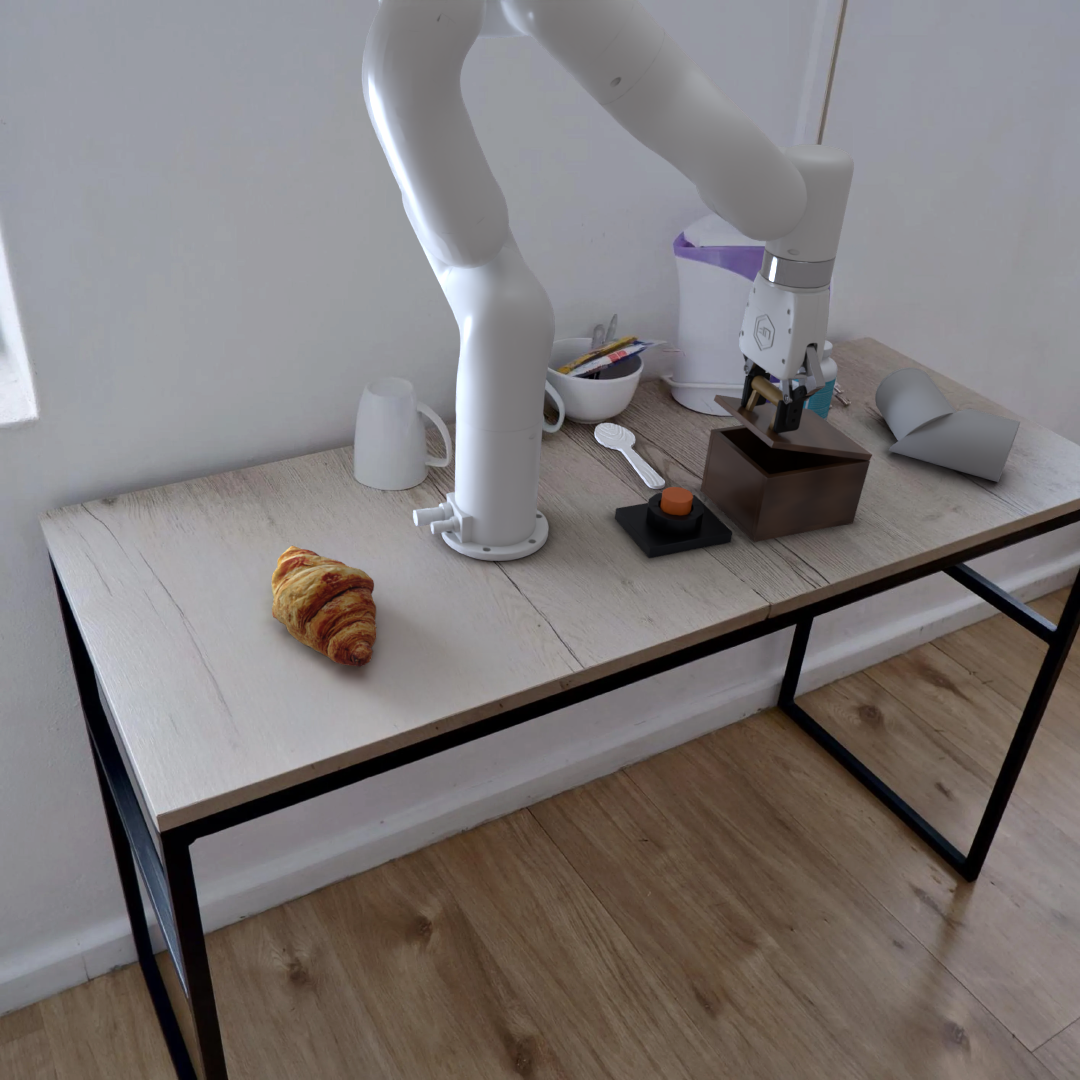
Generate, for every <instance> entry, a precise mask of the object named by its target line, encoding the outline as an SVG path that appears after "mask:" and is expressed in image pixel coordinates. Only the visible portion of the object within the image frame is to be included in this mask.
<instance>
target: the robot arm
mask: <svg viewBox="0 0 1080 1080" xmlns="http://www.w3.org/2000/svg"><path fill="white" fill-rule="evenodd" d="M377 2H378V9H377V11H376V13H375V15H374V17H373V19H372V22H371V24H370V27H369V29H368V31H367V35H366V39H365V43H364V48H363V54H362V61H361V62H362V64H361V87H362V94H363V95H362V96H363V100H364V105H365V107H366V108H365V109H366V111H367V115H368V117H369V121H370V122H371V125H372V128H373V130H374V133H375V136H376V138H377V140H378V142H379V145H380V146H381V149H382V151H383V153H384V156H385V158H386V160H387V163H388V166H389V168H390V171H391V172H392V175H393V177H394V179H395V181H396V183H397V186H398V189H399V191H400V192H401V202H402V205H403V210H404V211H405V214H406V216H407V219H408V221H409V223H410V225H411V227H412V230H413V232H414V233H415V236H416V238H417V239H418V242H419V245H420V246H421V248H422V251H423V252H424V255H425V257H426V258H427V261H428V263H429V265H430V267H431V269H432V271H433V273H434V275H435V277H436V280H437V281H438V283H439V285H440V288H441V289H442V292H443V294H444V296H445V298H446V300H447V303H448V305H449V307H450V309H451V311H452V313H453V316H454V319H455V322H456V324H457V327H458V329H459V356H458V357H459V358H458V366H457V372H456V373H457V374H456V389H455V458H454V459H455V463H454V464H455V465H454V467H455V468H454V491H453V492H448V493H446V502H440V503H439V504H438V506H435V507H425V508H419V509H413V511H412V517H413V522H414V525H415V526H416V527H421V526H422V527H423V526H428V525H429V526H430V527H429V528H430V532H431V534H432V535H435V534H440V535H441V537H442V539H443V541H444V542H445V544H447V545H448V546H449V547H450V548H451V549H452V550H454V551H456V552H458V553H460V554H462V555H463V556H467V557H470V558H473V559H476V560H481V561H488V562H489V561H490V562H492V561H493V562H502V561H504V562H505V561H512V560H519V559H523V558H525V557H528V556H530V555H532V554H534V553H536V552H537V551H539V550H541V548H542V547H543V546H544V545H545V543H546V542H547V540H548V537H549V529H550V527H549V522H548V520H547V517H546V516H545V515H544V514H543V512H541V511H540V509H538V496H539V482H540V470H541V469H540V467H541V456H542V455H541V454H542V453H541V452H542V441H543V440H542V439H543V426H544V425H543V424H544V406H545V394H546V383H547V376H548V369H549V365H550V360H551V356H552V351H553V348H554V347H553V346H554V341H555V334H556V318H555V313H554V312H555V311H554V308H553V305H552V301H551V298H550V296H549V295H548V293H547V289H545V287H544V285H543V284H542V282H541V281H540V280H539V278H538V277H537V276H536V273H534V271H533V270H532V269H531V268H530V266H529V265H528V263H527V262H526V261H525V258H524V257H523V255H522V252H521V250H520V248H519V246H518V244H517V240H516V238H515V237H514V234H513V231H512V229H511V227H510V224H509V223H510V222H509V221H510V220H509V209H508V205H507V204H508V203H507V200H506V197H505V195H504V191H503V190H502V188H501V186H500V183H499V182H498V181H497V179H496V178H495V176H494V174H493V172H492V169H491V167H490V165H489V163H488V160H487V157H486V155H485V153H484V151H483V149H482V146H481V144H480V142H479V139H478V137H477V134H476V132H475V129H474V126H473V123H472V120H471V116H470V115H469V111H468V108H467V107H466V104H465V102H464V98H463V93H462V88H461V76H462V75H461V74H462V69H463V65H464V62H465V60H466V58H467V56H468V54H469V51H470V50H471V49H472V47H473V45H474V44H475V42H476V40H486V39H487V40H489V39H490V40H491V39H505V38H516V37H517V38H518V37H531V38H532V39H533V40H534V41H535V43H537V44H538V45H539V46H540V47H541V48H542V49H544V51H545V52H546V53H547V54H548V55H549V56H550V57H552V59H553V60H554V61H555V62H557V64H558V65H559V66H560V67H562V69H563V70H565V72H566V73H568V74H569V75H570V76H571V77H572V79H573V80H575V81H576V83H578V84H579V85H580V86H581V87H582V89H584V91H586V92H587V93H588V95H590V96H591V97H592V98H593V99H594V100H595V101H596V102H597V103H598V104H599V105H600V107H602V108H603V109H604V110H605V111H606V112H607V113H608V115H610V116H611V117H612V118H613V119H614V120H615V121H616V122H617V123H618V124H619V125H620V126H621V127H622V128H623V129H624V130H625V131H627V132H628V133H629V134H630V135H631V136H632V137H633V138H635V139H636V140H637V141H638V142H639V143H640V144H642V145H643V146H645V147H646V148H648V149H649V150H651V151H652V152H654V153H655V154H657V155H658V156H659V157H661V158H662V159H664V160H665V161H666V162H668V163H669V164H670V165H672V166H673V167H674V168H675V169H676V170H677V171H679V172H680V173H681V174H682V175H683V176H684V177H685V178H687V180H689V181H690V182H691V183H692V184H693V185H695V188H696V191H697V194H698V196H699V198H700V200H701V201H702V203H704V205H705V206H706V207H707V208H708V209H709V210H711V212H713V213H714V214H715V215H717V216H718V217H720V218H721V219H722V220H724V221H725V222H727V223H728V224H729V225H731V227H733V228H735V229H736V230H737V231H738V232H739V233H740V234H742V235H743V236H744V237H747V238H749V239H751V240H753V241H759V242H765V244H764V250H763V255H762V263H761V268H760V269H759V270H758V271H757V273H756V276H755V278H754V279H753V283H752V286H751V289H750V291H749V295H748V298H747V303H746V305H745V310H744V315H743V319H742V323H741V329H740V331H739V333H738V336H739V340H738V345H739V346H738V347H739V350H740V351H741V353H742V355H743V359H744V362H745V363H744V365H743V373H744V374H745V376H744V383H743V388H742V396H741V399H742V400H741V405H742V406H743V407H744V408H746V406H747V403H748V401H749V399H750V396H751V394H752V392H753V388H752V386H751V383H752V380H753V379H754V378H755V377H756V376H763V377H764V378H766V379H767V380H768V381H770V382H771V376H773V377H774V378H776V379H777V380H779V381H780V380H782V390H783V400H779V402H778V406H777V411H776V416H775V421H774V427H773V431H774V432H776V433H783V432H789V431H795V430H797V429H798V428H799V425H800V420H801V415H802V410H803V405H804V401H807V400H809V397H811V396H812V395H814V394H815V393H816V392H818V391H819V390H821V389H822V388H824V387H825V380H824V376H823V373H822V370H821V366H820V364H821V360H822V356H823V351H824V346H825V340H827V335H828V334H827V332H828V325H829V316H830V315H829V314H830V302H831V300H830V299H831V296H830V295H831V292H830V291H831V290H830V289H829V288H830V286H831V282H832V276H833V272H834V267H835V262H836V257H837V254H838V248H839V243H840V238H841V233H842V229H843V224H844V219H845V215H846V209H847V205H848V201H849V195H850V191H851V187H852V186H851V185H852V181H853V176H854V170H855V163H854V159H853V157H852V155H851V154H850V153H849V152H847V151H846V150H843V149H842V148H840V147H836V146H833V145H832V146H831V145H826V144H817V143H802V144H796V145H792V146H783V145H776V143H774V142H773V140H771V138H770V137H769V136H768V135H767V134H766V133H765V132H764V130H762V129H761V127H759V126H758V124H757V123H756V122H755V121H754V120H753V119H752V118H751V117H750V116H749V115H748V114H747V113H746V112H745V111H743V109H741V107H740V106H738V105H737V103H736V102H734V101H733V100H732V99H731V98H730V97H729V96H728V95H727V94H726V93H725V92H724V91H723V90H722V89H721V87H719V85H717V84H716V82H715V81H714V80H713V79H712V78H711V77H710V75H709V74H708V73H707V72H706V71H704V70H703V68H702V67H701V66H699V64H698V63H696V61H694V60H693V58H691V57H690V55H688V54H687V52H686V51H685V50H684V49H683V48H682V47H681V46H680V45H679V44H678V43H677V42H676V40H674V39H673V37H672V36H670V34H669V33H668V32H667V31H666V30H665V29H664V27H662V26H661V24H659V22H658V21H656V19H655V18H654V17H653V16H652V15H651V14H650V12H649V11H648V10H647V9H646V8H645V7H644V6H643V5H642V4H641V3H640V2H639V0H377ZM798 371H799V373H797V372H798ZM796 379H798V381H799V386H798V387H797V388H795V389H794V390H793V387H792V380H796ZM766 402H767V399H766V398H764V397H763V396H762V395H761V394H760V395H759V398H758V400H757V402H756V405H755V406H759V405H764V404H765V403H766Z"/></svg>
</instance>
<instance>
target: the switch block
mask: <svg viewBox="0 0 1080 1080" xmlns="http://www.w3.org/2000/svg"><path fill="white" fill-rule="evenodd" d="M692 495H693V500H692V506H691V511H690V513H689V514H687V515H681V516H680V515H671V514H668V513H666V512H664V511H662V510H661V508H660V505H661V499H662V492H657V493H654V495H652V496H651V497H650V498H648V502H645V503H639V504H634V505H627V506H623V507H616V508H615V513H614V519H615V520H616V522H617V523H618V524H619V526H621V528H622V529H623V530H624V531H625V532H626V534H627V535H628V536H629V537H630V538H631V539H632V540H633V542H635V543H634V544H636V545H637V546H638V547H639V548H640V550H641V551H642V552H643V553H644V554H645V555H646V557H647V558H648V559H653V558H659V557H664V556H669V555H674V554H679V553H684V552H689V551H694V550H700V549H704V548H710V547H714V546H721V545H725V544H730V543H732V539H733V538H732V537H733V531H732V530H731V529H730V528H729V527H728V526H727V525H726V524H724V522H723V521H721V519H720V518H719V517H718V516H717V515H716V514H715V513H714V512H713V511H711V509H710V508H708V507H707V506H706V504H705V503H704V502H702V501H701V500H700V498H699V497H697V496H696V495H695V494H692Z"/></svg>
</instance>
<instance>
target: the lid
mask: <svg viewBox="0 0 1080 1080" xmlns="http://www.w3.org/2000/svg"><path fill="white" fill-rule="evenodd" d="M751 386H752V388H753V392H752V394H751V396H750V399H749V401H748V403H747V406H746V408H744V407H743V406H742V405H741V400H742V397H733V396H728V395H722V394H715V396H714V398H713V401H714V402H715V403H716V404H718V405H719V406H720V407H721V408H722V409H723V410H725V411H726V412H727V413H728V414H730V415H731V416H732V417H733V418H735V419H736V420H737V421H738V422H739V423H741V425H744V426H746V427H747V428H748V429H749V430H750V431H752V432H753V433H754V434H755V435H757V436H758V437H759V438H760V439H761V440H763V441H764V442H765V443H766V444H767V445H769V446H770V447H771V448H777V449H785V450H793V451H800V452H808V453H816V454H824V455H832V456H839V457H847V458H855V459H863V460H869V461H871V459H872V457H873V454H872V453H871V452H870V451H868V450H867V449H865V448H864V447H863V446H861V445H860V444H859V443H858V442H856V441H855V440H853V439H852V438H851V437H849V436H848V435H846V434H845V433H844V432H842V431H841V430H840V429H839V428H837V427H836V426H834V425H833V424H831V423H830V422H828V421H827V420H824V419H823V418H822V417H820V416H819V415H818V414H816V413H815V412H813V411H812V410H811V409H805V408H803V410H802V415H801V420H800V425H799V428H798V429H797V430H795V431H789V432H783V433H776V432H774V431H773V427H774V421H775V416H776V411H777V406H778V402H779V400H783V391H782V390H781V389H779V386H777V385H775V384H774V383H772V382H771V380H770V381H768V380H767V379H766V378H764V377H763V376H756V377H755V378H754V379H753V380H752V383H751ZM760 394H761V395H762V396H763V397H764V398H766V403H765V404H764V405H759V406H755V405H756V402H757V400H758V398H759V395H760ZM767 401H768V402H767Z"/></svg>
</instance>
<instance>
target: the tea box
mask: <svg viewBox="0 0 1080 1080" xmlns="http://www.w3.org/2000/svg"><path fill="white" fill-rule="evenodd" d="M709 433H710V434H709V439H708V446H707V450H706V457H705V463H704V468H703V474H702V481H701V486H700V492H701V493H702V494H704V495H705V496H706V497H707V498H708V499H709V501H711V502H712V503H713V504H714V505H715V506H716V507H717V508H718V510H720V511H721V512H722V513H723V514H724V515H725V516H726V517H727V518H728V519H729V520H730V521H731V522H732V523H733V524H734V525H735V526H737V528H738V529H739V530H740V531H741V532H743V534H744V535H746V537H748V539H750V540H751V541H752V542H753V543H758V542H762V541H768V540H773V539H778V538H784V537H789V536H793V535H799V534H805V533H808V532H813V531H818V530H823V529H829V528H834V527H840V526H844V525H849V524H850V525H851V524H853V523H854V521H855V517H856V513H857V510H858V507H859V504H860V499H861V495H862V492H863V490H864V486H865V481H866V477H867V475H868V472H869V467H870V463H871V460H863V459H855V458H847V457H839V456H832V455H824V454H816V453H808V452H800V451H793V450H785V449H777V448H771V447H770V446H769V445H767V444H766V443H765V442H764V441H763V440H761V439H760V438H759V437H758V436H757V435H755V434H754V433H753V432H752V431H750V430H749V429H748V428H747V427H746V426H744V425H743V424H740V425H733V426H727V427H720V428H713V429H711V430H710V432H709Z"/></svg>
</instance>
